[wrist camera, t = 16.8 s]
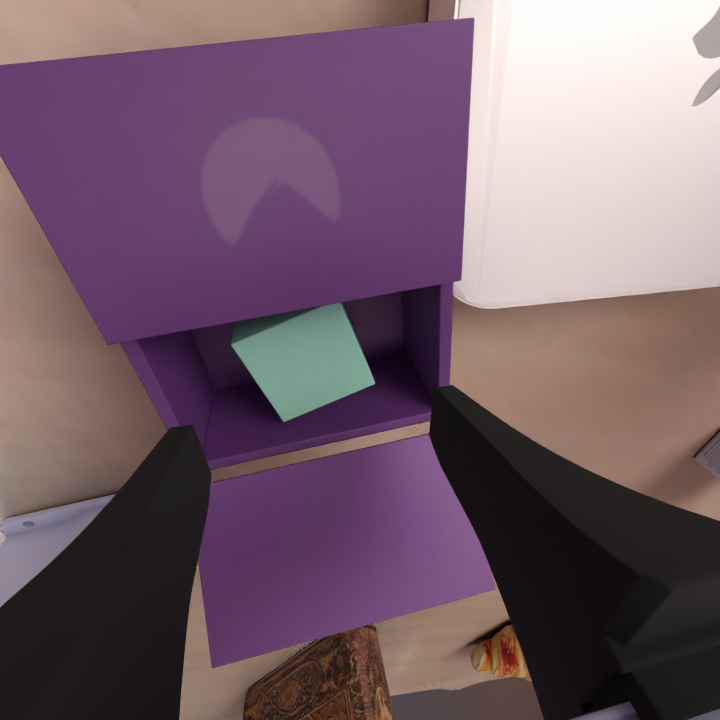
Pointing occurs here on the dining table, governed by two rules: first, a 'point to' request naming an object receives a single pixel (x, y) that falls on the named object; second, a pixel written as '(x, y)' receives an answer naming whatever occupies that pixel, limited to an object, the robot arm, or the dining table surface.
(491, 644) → the croissant
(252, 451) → the purple open box
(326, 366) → the sticky note cube
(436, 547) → the purple box lid
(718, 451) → the medicine box
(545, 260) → the computer
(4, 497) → the dining table surface
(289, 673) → the book
